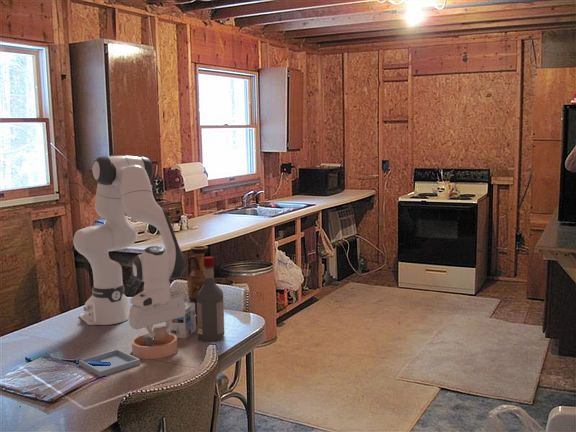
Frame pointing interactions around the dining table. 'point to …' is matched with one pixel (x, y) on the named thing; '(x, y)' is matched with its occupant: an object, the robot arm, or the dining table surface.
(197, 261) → the vase
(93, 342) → the dining table surface
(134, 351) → the bowl
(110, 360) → the parts tray
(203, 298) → the liquor
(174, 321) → the light bulb box
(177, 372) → the dining table surface
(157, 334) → the tan wooden cube
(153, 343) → the grey cube
